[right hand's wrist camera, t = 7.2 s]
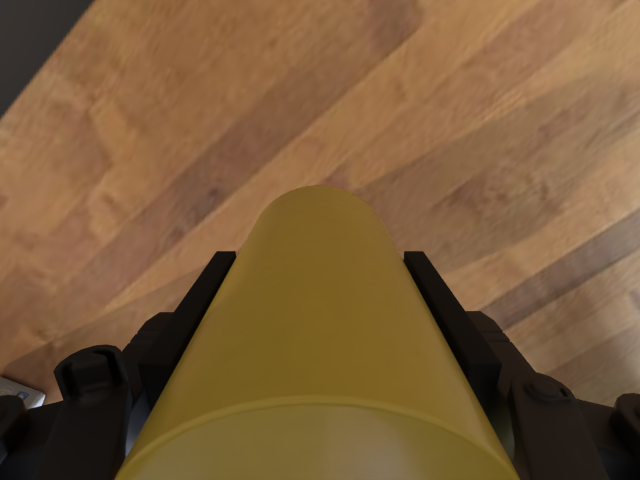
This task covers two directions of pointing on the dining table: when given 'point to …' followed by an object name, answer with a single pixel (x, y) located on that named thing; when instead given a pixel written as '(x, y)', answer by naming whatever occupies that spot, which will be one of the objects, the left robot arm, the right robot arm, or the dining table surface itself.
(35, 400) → the hard drive box
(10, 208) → the dining table surface
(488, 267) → the dining table surface
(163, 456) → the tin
